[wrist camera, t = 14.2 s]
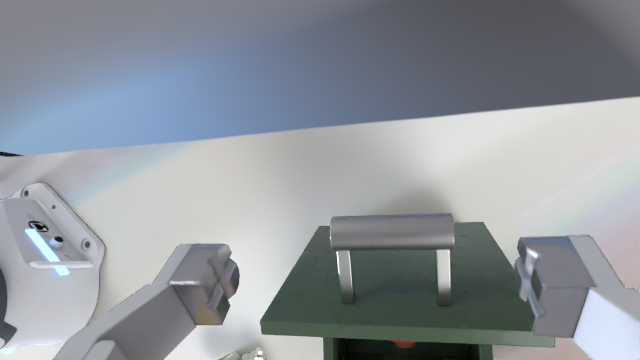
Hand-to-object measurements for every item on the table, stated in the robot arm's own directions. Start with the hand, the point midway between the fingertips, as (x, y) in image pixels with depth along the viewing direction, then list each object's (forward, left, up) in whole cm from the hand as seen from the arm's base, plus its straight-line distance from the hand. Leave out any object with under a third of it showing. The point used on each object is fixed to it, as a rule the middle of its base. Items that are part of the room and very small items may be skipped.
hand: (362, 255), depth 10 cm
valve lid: (+2, -1, -15) cm, 15 cm away
